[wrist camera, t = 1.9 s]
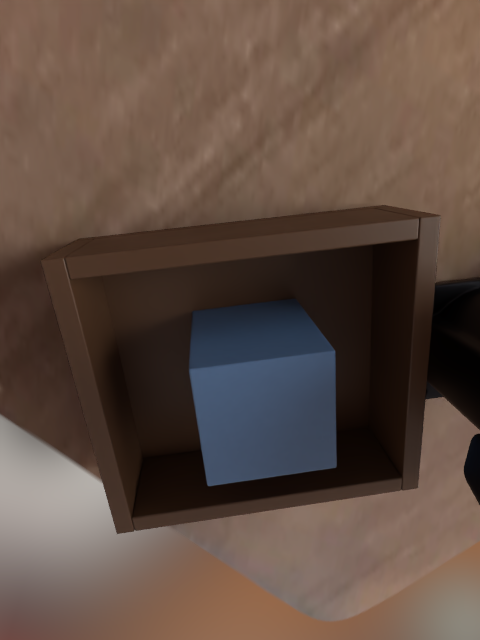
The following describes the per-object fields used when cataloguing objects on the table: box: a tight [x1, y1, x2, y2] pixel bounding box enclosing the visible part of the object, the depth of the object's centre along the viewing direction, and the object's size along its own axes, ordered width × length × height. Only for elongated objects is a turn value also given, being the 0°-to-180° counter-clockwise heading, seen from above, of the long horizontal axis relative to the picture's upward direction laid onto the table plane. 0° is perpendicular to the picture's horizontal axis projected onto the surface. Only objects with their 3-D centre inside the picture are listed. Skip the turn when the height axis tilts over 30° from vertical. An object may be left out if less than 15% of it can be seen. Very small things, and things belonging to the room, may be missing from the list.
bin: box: [41, 205, 441, 534], centre depth 18 cm, size 14×13×5 cm
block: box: [189, 299, 337, 486], centre depth 17 cm, size 5×5×6 cm
